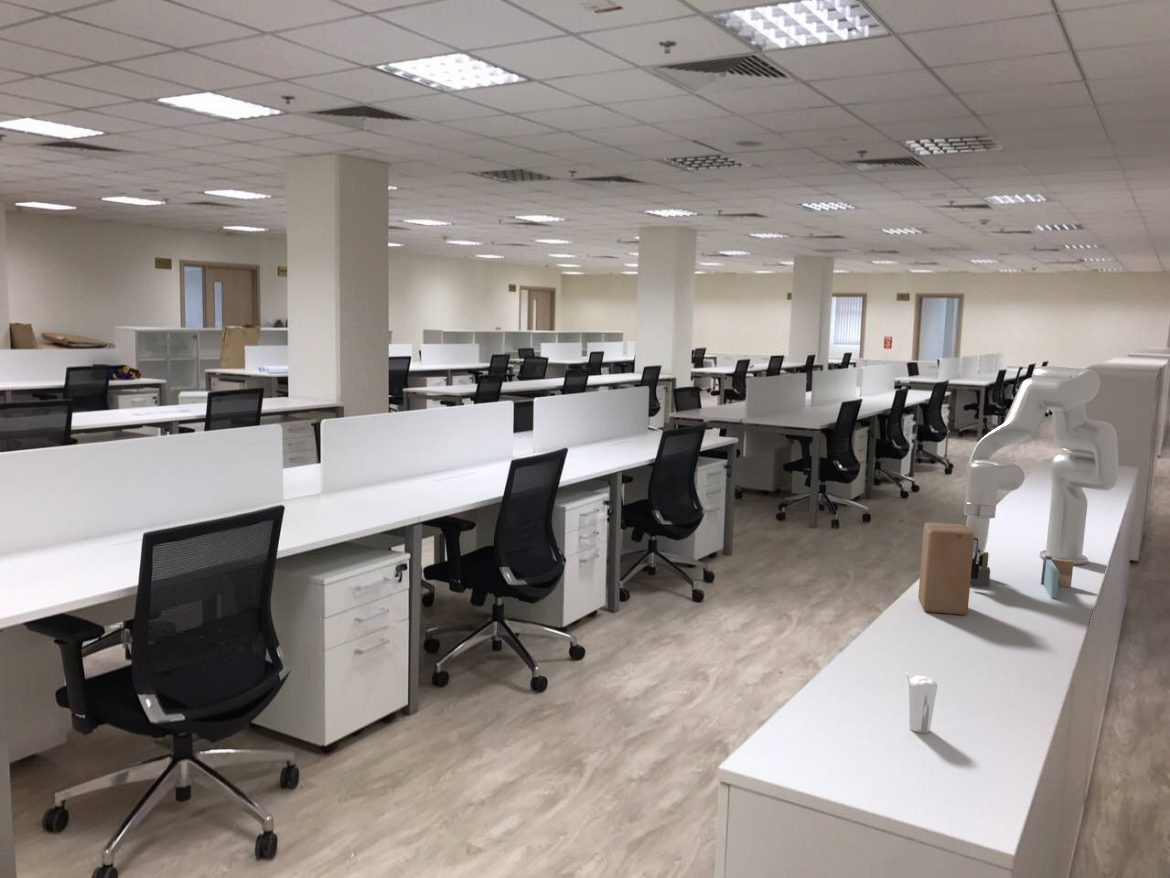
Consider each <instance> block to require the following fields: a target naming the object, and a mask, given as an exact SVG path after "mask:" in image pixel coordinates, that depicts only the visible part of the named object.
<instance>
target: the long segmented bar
mask: <svg viewBox="0 0 1170 878" xmlns="http://www.w3.org/2000/svg"><path fill="white" fill-rule="evenodd" d="M982 556H983V563H982V567H989V552H988V551H984V553H983V555H982ZM1046 559H1047V560H1052V562H1053V563H1054V565H1055V566H1056V568H1057V569H1058V571H1059V579H1064V584H1063V585H1060V584H1058V588H1059V587H1060V588H1070V589H1071V588H1072V581H1073V580H1072V579H1073V571H1074V570H1073V568H1074V564H1073V561H1072V560H1063V559H1053V558H1052V557H1051V556H1044V559H1043V558H1042V571H1041V581H1040V584H1041V585H1043V586H1044V577H1045V567H1046Z"/></svg>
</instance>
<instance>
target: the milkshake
mask: <svg viewBox="0 0 1170 878" xmlns="http://www.w3.org/2000/svg"><path fill="white" fill-rule="evenodd" d="M905 674H906V678H907V680H908V692H909V693H908V697H909V730H911V731H912V732H914V733H918V734H928V733H930V731H931V726H932V721H933V715H934V714H933V713H934V709H935V708H934V707H935V702H936V696H937V690H938V684H937V682H936V681H935V680H934V679H933V678H930V677H928V676H926V675H918V674H917V675H915V676H913V677H911V678H910V679H909V676H908V673H905Z"/></svg>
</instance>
